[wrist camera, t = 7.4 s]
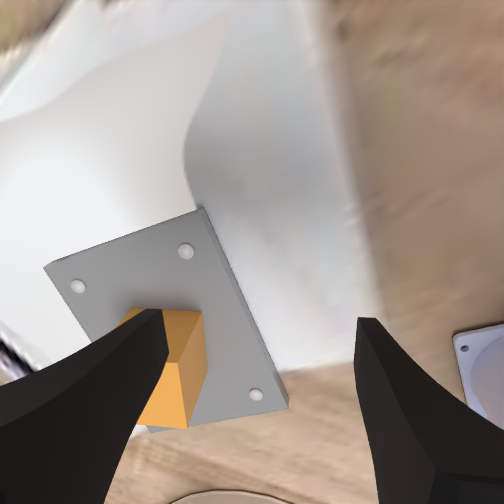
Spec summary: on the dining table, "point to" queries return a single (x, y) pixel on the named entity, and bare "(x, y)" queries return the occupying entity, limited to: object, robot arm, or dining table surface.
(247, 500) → the kettle
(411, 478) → the robot arm
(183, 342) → the orange cube
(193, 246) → the plate
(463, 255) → the dining table surface
